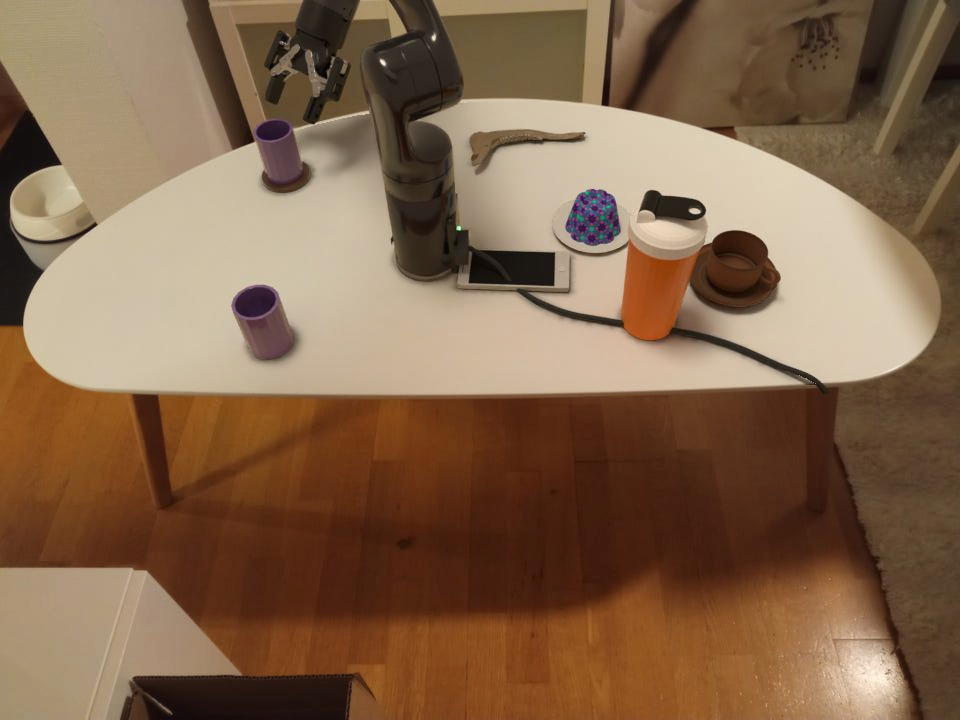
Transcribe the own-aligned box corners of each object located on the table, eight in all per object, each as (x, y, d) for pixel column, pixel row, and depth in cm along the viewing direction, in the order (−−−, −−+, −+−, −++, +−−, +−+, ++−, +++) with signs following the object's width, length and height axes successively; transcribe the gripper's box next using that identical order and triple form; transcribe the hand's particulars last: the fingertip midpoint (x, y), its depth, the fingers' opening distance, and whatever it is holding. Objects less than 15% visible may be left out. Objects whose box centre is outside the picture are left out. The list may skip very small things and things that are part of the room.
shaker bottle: (679, 350, 98) (712, 236, 82) (610, 341, 99) (629, 226, 83) (682, 300, 103) (713, 183, 87) (616, 291, 105) (635, 175, 89)
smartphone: (568, 292, 105) (569, 287, 104) (457, 288, 106) (456, 283, 105) (569, 255, 109) (569, 251, 108) (462, 252, 110) (461, 247, 109)
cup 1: (309, 175, 121) (298, 133, 114) (275, 189, 119) (262, 146, 113) (295, 156, 124) (283, 113, 118) (261, 169, 122) (247, 126, 116)
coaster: (313, 161, 124) (312, 157, 123) (306, 192, 119) (305, 188, 119) (267, 162, 124) (266, 158, 124) (258, 193, 120) (257, 189, 119)
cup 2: (297, 325, 103) (283, 284, 96) (289, 359, 99) (274, 319, 93) (253, 325, 103) (237, 284, 97) (244, 359, 99) (226, 319, 93)
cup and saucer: (775, 258, 107) (788, 225, 103) (772, 321, 100) (785, 289, 96) (689, 244, 110) (698, 212, 105) (680, 305, 103) (688, 273, 98)
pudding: (535, 227, 113) (536, 199, 109) (590, 190, 118) (593, 162, 113) (595, 269, 107) (598, 241, 103) (650, 228, 112) (656, 200, 108)
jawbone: (452, 146, 126) (451, 135, 125) (561, 114, 131) (561, 103, 130) (474, 174, 120) (473, 163, 119) (587, 139, 125) (588, 128, 124)
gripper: (278, -17, 111) (240, 89, 115) (347, 12, 106) (304, 123, 110) (312, 3, 118) (275, 103, 122) (379, 32, 112) (337, 135, 116)
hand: (289, 112), depth 116 cm, fingers open, 8 cm apart
